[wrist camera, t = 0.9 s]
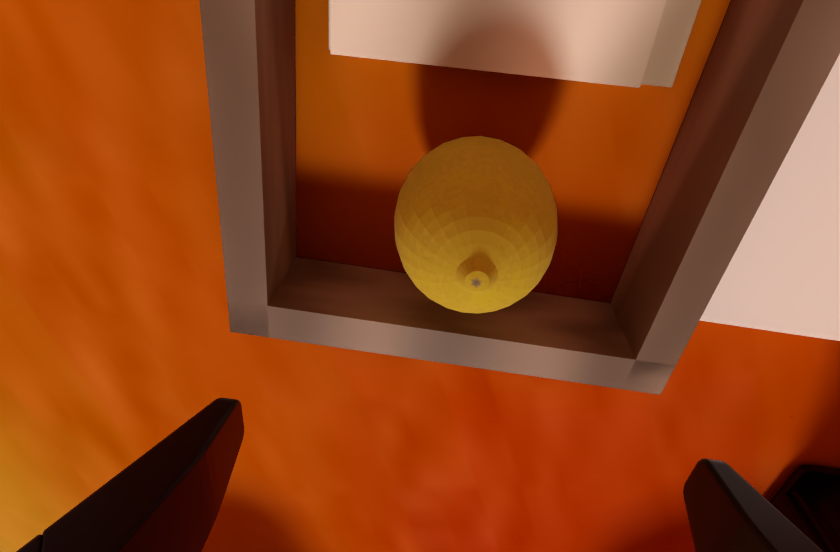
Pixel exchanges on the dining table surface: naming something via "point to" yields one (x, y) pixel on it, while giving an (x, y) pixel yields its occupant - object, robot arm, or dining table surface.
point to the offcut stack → (522, 36)
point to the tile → (793, 238)
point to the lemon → (475, 224)
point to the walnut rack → (536, 312)
